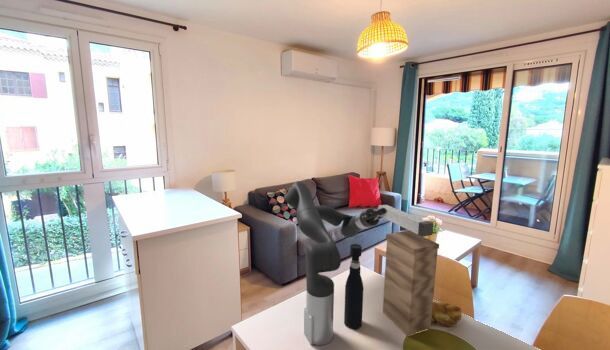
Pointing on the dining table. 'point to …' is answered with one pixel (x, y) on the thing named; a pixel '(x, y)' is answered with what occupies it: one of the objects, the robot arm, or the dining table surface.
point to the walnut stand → (409, 281)
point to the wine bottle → (354, 291)
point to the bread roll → (445, 314)
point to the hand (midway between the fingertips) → (389, 209)
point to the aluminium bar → (407, 221)
